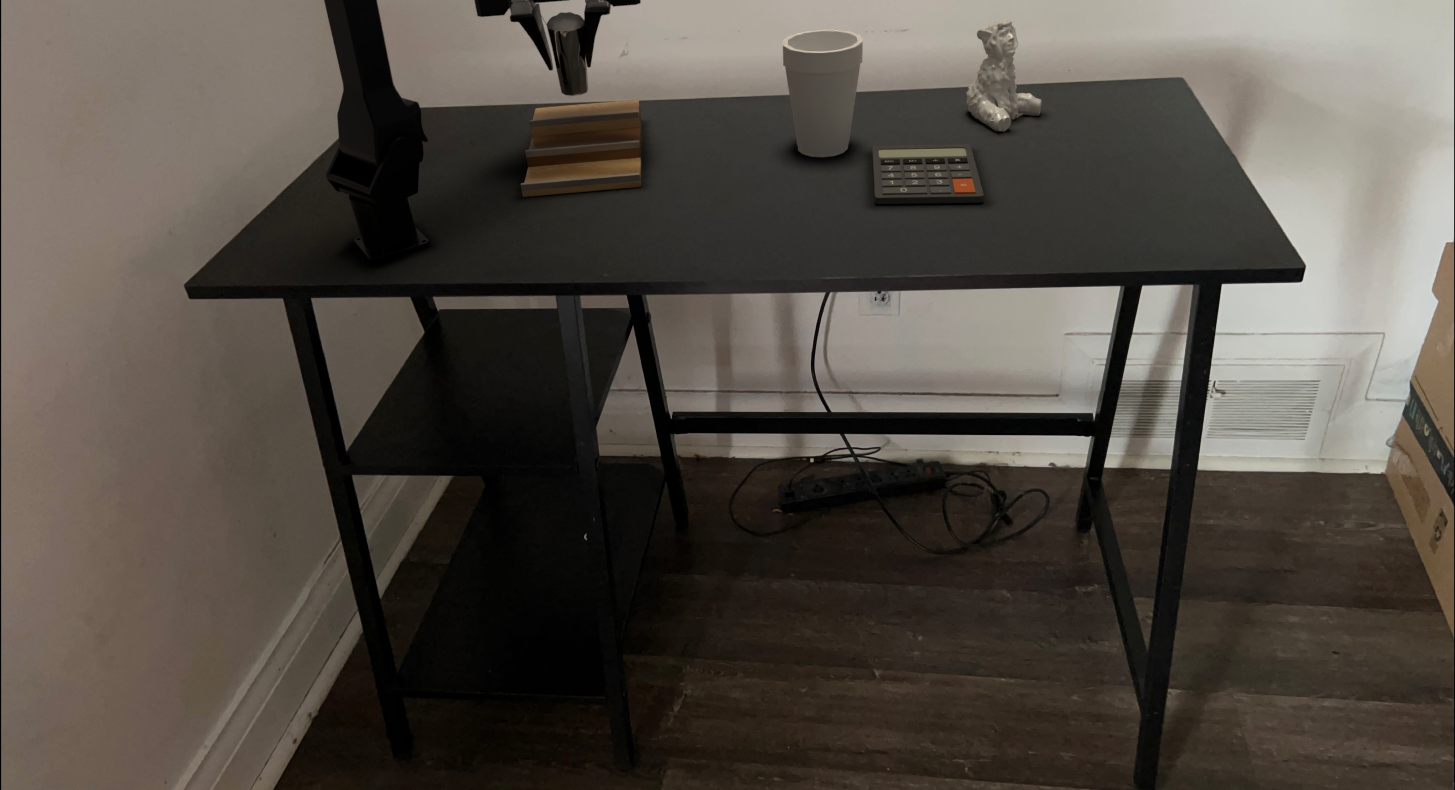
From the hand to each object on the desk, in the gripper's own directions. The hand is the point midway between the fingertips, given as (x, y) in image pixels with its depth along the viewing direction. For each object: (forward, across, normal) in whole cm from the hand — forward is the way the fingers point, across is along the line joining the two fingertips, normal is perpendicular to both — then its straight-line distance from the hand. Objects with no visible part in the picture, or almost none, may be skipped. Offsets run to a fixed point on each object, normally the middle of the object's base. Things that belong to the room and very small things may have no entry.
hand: (570, 68), depth 115 cm
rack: (+11, 0, 0) cm, 11 cm away
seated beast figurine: (+11, -54, -2) cm, 55 cm away
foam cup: (+11, -30, +4) cm, 32 cm away
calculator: (+11, -40, +15) cm, 44 cm away
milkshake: (+3, 0, 0) cm, 3 cm away
